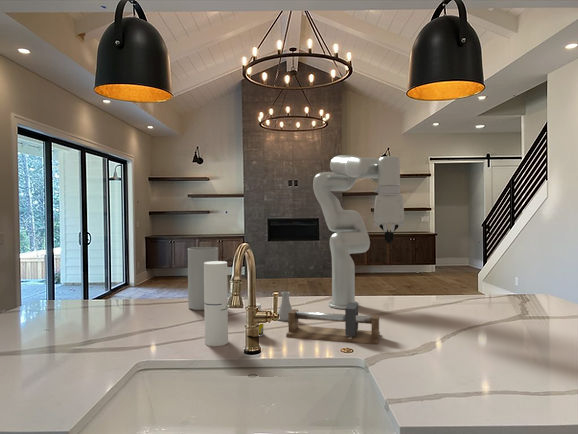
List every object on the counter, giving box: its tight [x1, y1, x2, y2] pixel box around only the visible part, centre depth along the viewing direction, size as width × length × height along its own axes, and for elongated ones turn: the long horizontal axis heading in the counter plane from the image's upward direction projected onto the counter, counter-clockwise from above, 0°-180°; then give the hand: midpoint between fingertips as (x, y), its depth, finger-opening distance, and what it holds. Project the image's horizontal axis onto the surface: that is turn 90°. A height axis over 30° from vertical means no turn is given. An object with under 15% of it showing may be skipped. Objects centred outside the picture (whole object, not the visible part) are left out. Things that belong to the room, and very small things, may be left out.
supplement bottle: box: [255, 302, 264, 337], centre depth 137 cm, size 6×6×10 cm
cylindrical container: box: [204, 260, 229, 347], centre depth 129 cm, size 7×7×25 cm
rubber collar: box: [344, 302, 359, 336], centre depth 134 cm, size 3×8×8 cm, turn 164°
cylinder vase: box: [187, 246, 219, 311], centre depth 176 cm, size 12×12×25 cm
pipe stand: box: [285, 308, 381, 345], centre depth 135 cm, size 29×10×7 cm, turn 74°
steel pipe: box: [295, 310, 372, 325], centre depth 135 cm, size 27×3×3 cm, turn 74°
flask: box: [277, 291, 293, 322], centre depth 157 cm, size 7×7×10 cm
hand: (389, 243), depth 148 cm, fingers closed
